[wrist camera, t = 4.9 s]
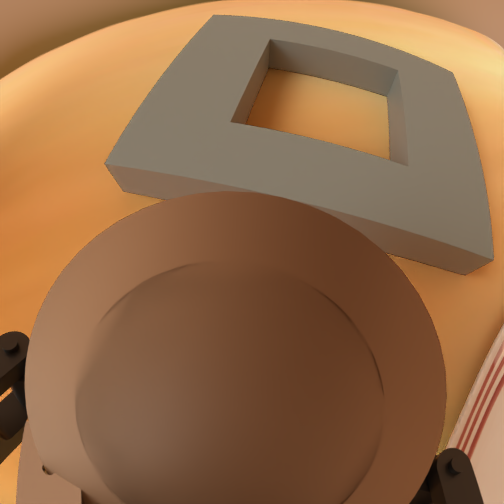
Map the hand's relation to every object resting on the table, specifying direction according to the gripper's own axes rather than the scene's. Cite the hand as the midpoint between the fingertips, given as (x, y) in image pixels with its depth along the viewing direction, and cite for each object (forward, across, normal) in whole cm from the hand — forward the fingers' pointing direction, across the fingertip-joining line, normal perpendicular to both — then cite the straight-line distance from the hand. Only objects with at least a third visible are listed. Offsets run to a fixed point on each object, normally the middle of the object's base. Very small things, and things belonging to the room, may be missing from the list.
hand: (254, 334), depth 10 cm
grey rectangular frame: (+14, -1, -7) cm, 16 cm away
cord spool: (+2, 0, +5) cm, 5 cm away
